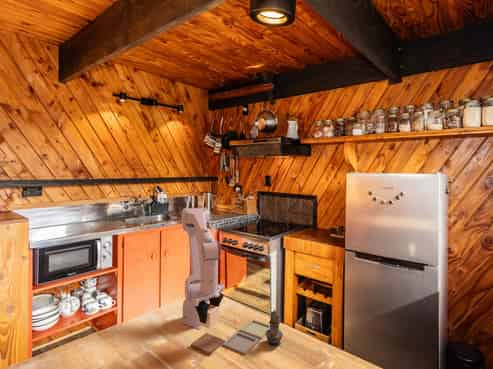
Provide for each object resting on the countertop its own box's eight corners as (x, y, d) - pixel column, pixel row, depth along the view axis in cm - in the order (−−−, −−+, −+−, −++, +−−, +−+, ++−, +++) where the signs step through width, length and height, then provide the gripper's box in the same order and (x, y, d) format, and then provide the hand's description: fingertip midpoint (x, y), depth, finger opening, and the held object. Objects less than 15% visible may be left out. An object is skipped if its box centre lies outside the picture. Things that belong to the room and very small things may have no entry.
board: (190, 346, 97) (190, 344, 97) (206, 335, 104) (206, 332, 104) (209, 355, 93) (209, 352, 93) (224, 343, 100) (224, 340, 100)
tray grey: (222, 346, 98) (222, 343, 98) (237, 333, 105) (237, 331, 105) (245, 356, 93) (245, 353, 93) (259, 342, 101) (259, 339, 101)
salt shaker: (281, 350, 96) (283, 314, 96) (263, 347, 98) (265, 312, 97) (283, 339, 102) (284, 306, 101) (266, 337, 103) (267, 304, 103)
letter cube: (197, 324, 97) (198, 308, 97) (207, 317, 101) (207, 303, 101) (209, 328, 94) (210, 313, 94) (219, 321, 99) (219, 307, 98)
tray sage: (239, 331, 107) (239, 329, 107) (252, 321, 114) (252, 318, 114) (261, 339, 102) (261, 337, 102) (273, 328, 109) (273, 325, 109)
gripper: (204, 288, 89) (203, 332, 90) (231, 274, 101) (230, 313, 102) (186, 283, 92) (186, 325, 93) (215, 270, 105) (214, 307, 106)
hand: (208, 318), depth 98 cm, fingers closed on letter cube, 5 cm apart
